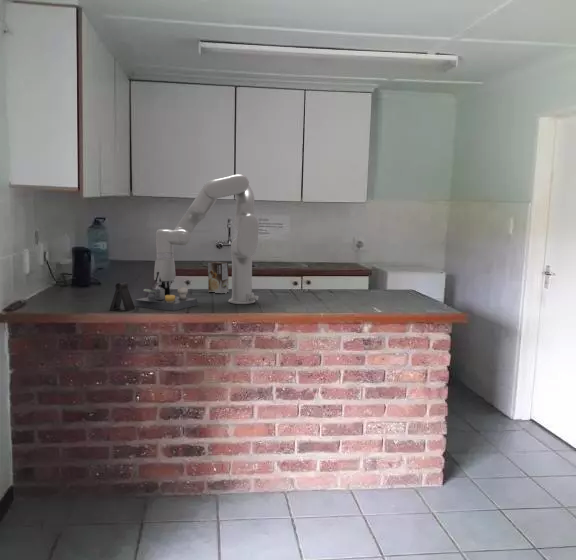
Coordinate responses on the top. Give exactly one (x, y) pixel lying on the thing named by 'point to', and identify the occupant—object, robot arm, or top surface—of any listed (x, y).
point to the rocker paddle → (150, 291)
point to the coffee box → (218, 277)
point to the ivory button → (182, 293)
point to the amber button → (169, 298)
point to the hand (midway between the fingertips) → (165, 296)
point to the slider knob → (160, 293)
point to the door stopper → (122, 298)
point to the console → (165, 303)
